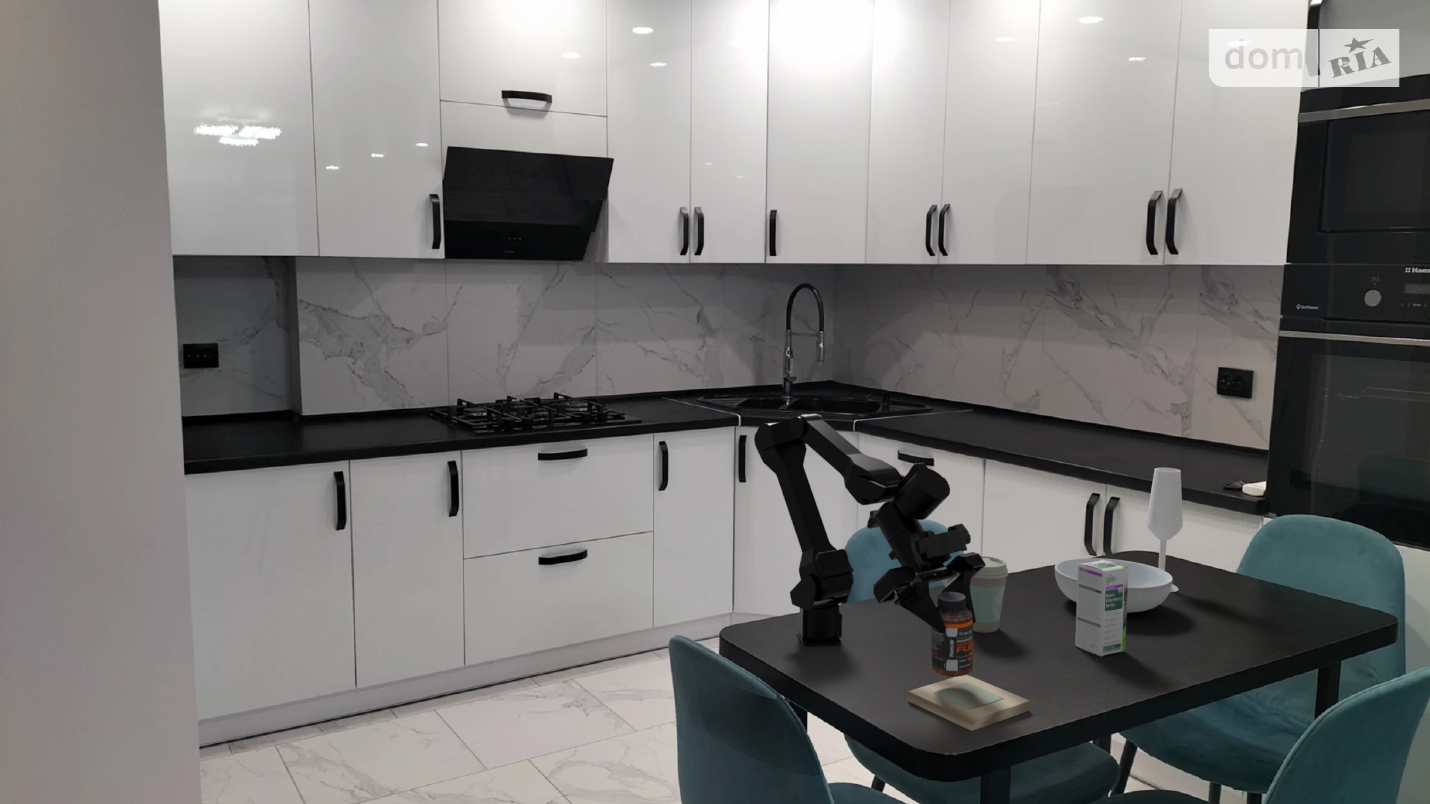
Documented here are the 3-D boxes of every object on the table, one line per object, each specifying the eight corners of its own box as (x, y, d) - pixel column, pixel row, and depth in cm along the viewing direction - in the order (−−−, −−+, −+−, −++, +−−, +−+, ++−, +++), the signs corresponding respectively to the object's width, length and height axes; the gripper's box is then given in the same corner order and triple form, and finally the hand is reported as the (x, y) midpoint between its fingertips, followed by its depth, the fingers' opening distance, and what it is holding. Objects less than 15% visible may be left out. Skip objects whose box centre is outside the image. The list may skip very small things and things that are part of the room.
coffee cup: (997, 638, 176) (1000, 570, 175) (949, 629, 180) (952, 563, 179) (1012, 625, 183) (1015, 559, 182) (965, 616, 188) (967, 552, 186)
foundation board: (971, 730, 140) (972, 719, 139) (908, 701, 149) (908, 690, 149) (1029, 710, 146) (1029, 700, 146) (964, 683, 156) (965, 673, 156)
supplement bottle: (962, 681, 146) (961, 606, 145) (924, 672, 150) (922, 598, 148) (980, 667, 151) (979, 593, 149) (943, 658, 155) (941, 586, 153)
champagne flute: (1155, 580, 212) (1162, 465, 209) (1185, 588, 206) (1193, 471, 203) (1135, 585, 208) (1142, 468, 205) (1165, 594, 202) (1172, 474, 200)
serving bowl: (1178, 601, 198) (1181, 567, 197) (1160, 632, 180) (1162, 594, 180) (1068, 584, 209) (1069, 551, 208) (1040, 611, 191) (1041, 575, 191)
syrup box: (1101, 657, 168) (1105, 570, 166) (1073, 646, 173) (1077, 562, 171) (1125, 651, 170) (1130, 566, 169) (1097, 640, 176) (1102, 557, 174)
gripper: (889, 514, 146) (945, 611, 138) (978, 500, 156) (1034, 588, 148) (850, 556, 153) (901, 650, 145) (938, 539, 163) (989, 626, 156)
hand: (958, 627), depth 148 cm, fingers closed on supplement bottle, 6 cm apart
